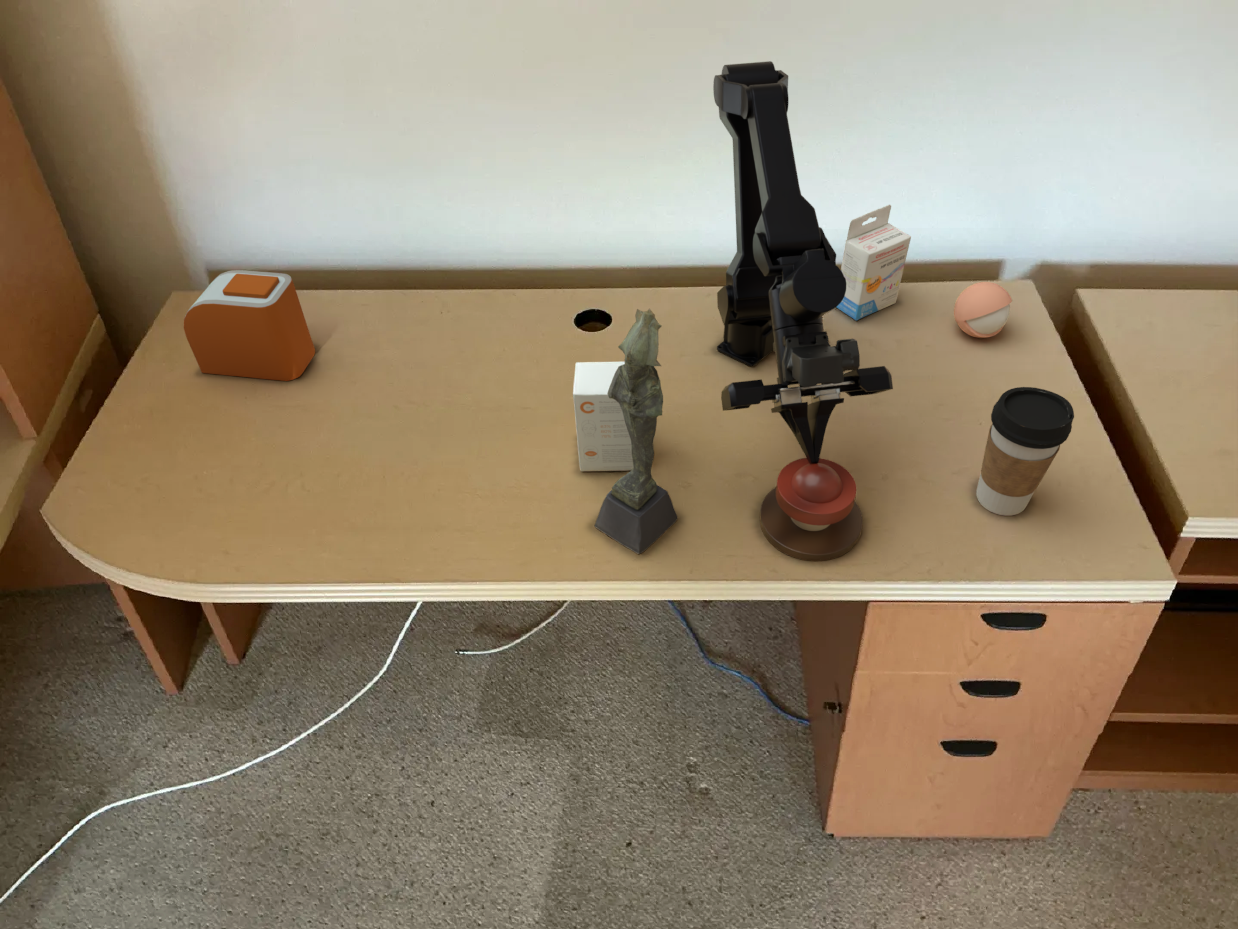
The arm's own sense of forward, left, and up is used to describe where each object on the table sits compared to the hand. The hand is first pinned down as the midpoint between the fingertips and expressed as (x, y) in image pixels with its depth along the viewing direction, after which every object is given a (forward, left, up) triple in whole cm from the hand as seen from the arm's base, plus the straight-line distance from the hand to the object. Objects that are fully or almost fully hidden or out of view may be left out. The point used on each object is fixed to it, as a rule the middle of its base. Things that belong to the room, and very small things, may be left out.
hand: (813, 463), depth 108 cm
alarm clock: (-78, -24, -8) cm, 82 cm away
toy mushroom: (+1, -1, -8) cm, 8 cm away
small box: (-25, -7, -8) cm, 27 cm away
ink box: (-16, +42, -8) cm, 45 cm away
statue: (-15, -14, -8) cm, 22 cm away
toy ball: (0, +46, -8) cm, 46 cm away
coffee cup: (+17, +17, -8) cm, 25 cm away
